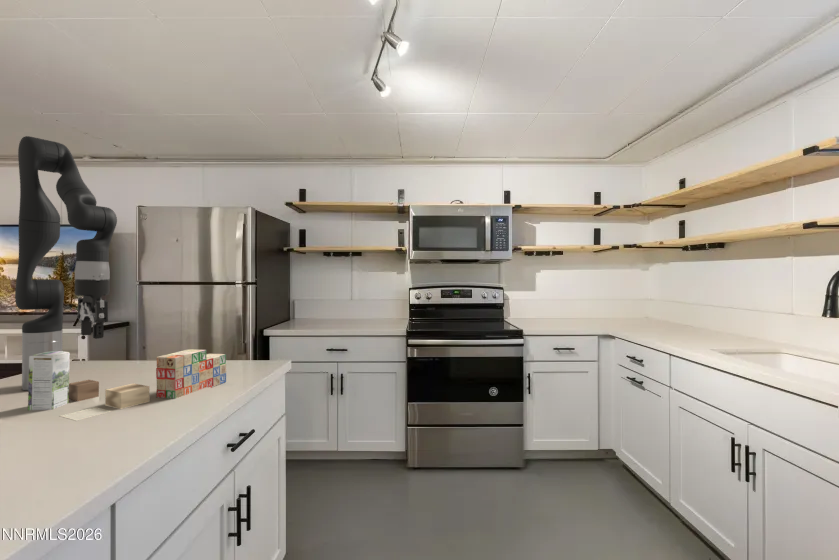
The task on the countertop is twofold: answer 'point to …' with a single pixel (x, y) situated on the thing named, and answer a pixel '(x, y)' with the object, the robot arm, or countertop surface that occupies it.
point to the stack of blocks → (188, 372)
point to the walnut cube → (83, 390)
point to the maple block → (126, 395)
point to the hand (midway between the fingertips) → (92, 336)
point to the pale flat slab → (88, 413)
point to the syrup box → (48, 380)
